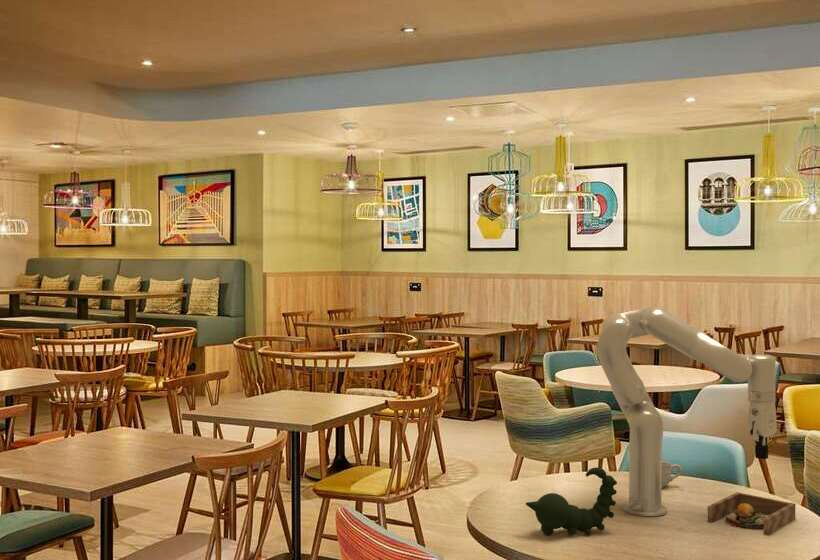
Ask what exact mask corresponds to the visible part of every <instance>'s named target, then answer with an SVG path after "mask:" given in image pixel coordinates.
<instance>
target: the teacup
mask: <svg viewBox="0 0 820 560" xmlns="http://www.w3.org/2000/svg"><path fill="white" fill-rule="evenodd" d="M675 468H677V469H678V471H677V473H675V474H674V475H672V472H673V469H675ZM682 471H683V470H682V467H681V465H679V464H678V463H677V464H676V463H674V464H672V463H671V462H670V461H669V462H668V461H664V460H662V488H666V486H667V485H668V484H670V483H671V482H673V480H675V479H676V478H678V477H679V476H680V475H681V474H682Z"/></svg>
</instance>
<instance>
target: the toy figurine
mask: <svg viewBox="0 0 820 560" xmlns="http://www.w3.org/2000/svg"><path fill="white" fill-rule="evenodd" d="M592 475H595V476H597V477H598V478H599V479H600V480H601V483H602V484H601V485H600V486H599V494H598V495H597V497H596V502H595V503H594V504H593V505H592V507H591V508H583V507H582V508H580V507H578V506H577V505H575V504H569V501H568V500H567V499H566V498H565V497H564V496H563V495H561V494H558V493H555V492H552V493H551V492H550V493H546V494H543V495H542V496H541V497H539V499H538V500H536V501H528V502H525V505H526V506H527V507H528V508H530V509H531V510H532V511H534V513H535V516H536V520H537V522H539V524H540V525H541V526H540V531H541V532H542V533H543V534H544V535H545V536H551V535H552V534H553V533H554V530H558V529H562V528H563V530H567V533H568V534H569V535H570V536H573V535H576V534H577V531H579V532H583V534H584V535H585V536H590V535H591V533H592V529H593V528H596V529H597V530H598V531H601V532H602V531H604V530H605V524H604V523H603V522H604V519H606V518H607V517H608V518H609V519H613V518H614V516H615V513H614V512H613V511H611V508H610V507H611V506H612V507H613V506H616V501H615V500H614V499H613V496H614V495H616V494H617V489H615V488H614V486H616V485H617V484H618V481H617V480H615V478H614V477H613V476H612V475H609V474H608V475H607V471H606V470H605V469H603V468H602V467H592V468H590V469H588V471H586V473H585V477H586V478H587V477H589V476H592Z"/></svg>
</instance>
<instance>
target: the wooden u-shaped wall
mask: <svg viewBox="0 0 820 560" xmlns="http://www.w3.org/2000/svg"><path fill="white" fill-rule="evenodd" d="M742 501H743V503H746V504H749V505H751V506H752V507H753V511H754V512H756V513H758V512H759V514H763V515H767V516H765V517H766V518H764V529H763V535H764V536H771V535H772V534H773V533H775V532H776V531H778V530H779V529H781V528H783V527H784V526H786V525H788V524H789V523H791V522H793V521H795V520H796V503H793V502H788V501H783V500H777V499H773V498H767V497H763V496H758V495H754V494H747V493H742V492H737V491H736V492H735V493H732V494H730V495H729V496H727V497H724V498H722V499H720V500H718V501H716V502H714V503H712V504H710V505H708V506H707V522H708V523H714V522H715V521H717V520H719V519H722V518H723V517H726V515H727V514H728V513H733V512H736V511H737V507H738V506H739V505H740V504H743V503H742Z"/></svg>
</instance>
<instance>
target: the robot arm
mask: <svg viewBox="0 0 820 560" xmlns="http://www.w3.org/2000/svg"><path fill="white" fill-rule="evenodd" d="M648 335H650V336H652V337H654V338H655V339H657V340H659V341H661V342H662V343H664V344H666V345H667V346H669V347H671V348H673V349H674V350H676V351H678V352H680V353H681V354H683V355H685V356H687V357H688V358H690V359H692V360H695V361H697V362H698V363H701V364H703V365H705V366H706V367H708V368H710V369H711V370H714V371H715V372H717V373H718V374H721V375H722V376H724V377H726V378H727V379H729V380H731V381H732V382H736V383H742V382H747V402H749V406H748V407H749V408H748V423H747V424H748V425H747V426H748V427H747V428H748V434H749V435H750V436H752V441H754V452H755V453H754V456H755V459H758V460H759V459H760V460H767V459H769V443H770V437H771V436H772V435H775V434H776V433H777V431H778V430H777V429H778V424H777V409H776V359H775V357H774V356H773V355H770V354H764V353H763V354H761V353H758V354H757V353H756V354H742V353H737V352H735V351H734V350H732V349H730V348H729V347H726V346H725V345H723V344H721V343H720V342H718V341H716V340H715V339H714V338H712V337H710V336H709V335H708V334H707V333H705V332H703V331H702V330H700V329H699V328H697V327H695V326H693V325H691V324H690V323H687V322H685V320H682V319H680V318H679V317H678V316H676V315H674V314H672V313H670V312H668V311H667V310H665V309H663V308H661V307H659V306H648V307H644V308H639V309H635V310H631V311H625V312H620V313H615V314H612V315H611V314H610V315H609V316H608V317H607V318H605V320H604V321H603V325H602V331H601V333H600V335H599V337H598V340H597V345H596V346H597V347H596V351H597V358H598V361H599V363H600V365H601V369H603V372H604V374H605V377H606V379H607V380H608V382H609V384H610V386H611V387H610V388H611V389H610V390H611V391H612V394H613V396H614V398H615V400H616V402H617V403H618V406H619V408H620V410H621V412H622V413H623V415H624V417H625V419H626V421H627V424H628V425H629V447H628V448H629V449H628V458H629V459H628V463H629V464H628V468H629V469H628V472H629V473H628V501H627V502H625V503H623V504H622V508H623V510H624V511H625V512H626V513H629V514H631V515H636V516H640V517H660V516H663V515H666V514H667V511H668V509H667V506H665V505H664V504H662V498H663V497H662V494H663V493H662V490H663V487H662V461H663V458H662V456H663V437H664V422H663V418H662V416H661V414H660V413H659V411H658V410H657V408H656V406H655V405H654V403H653V401H652V399H651V397H650V396H649V393H648V392H647V390H646V387H645V385H644V382H643V380H642V378H641V377H640V376H639V375H638V373H637V371H636V369H635V367H634V365H633V364H632V361H631V359H630V357H629V355H628V352H627V345H628V342H629V341H631V339H634V338H640V337H644V336H648Z"/></svg>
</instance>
